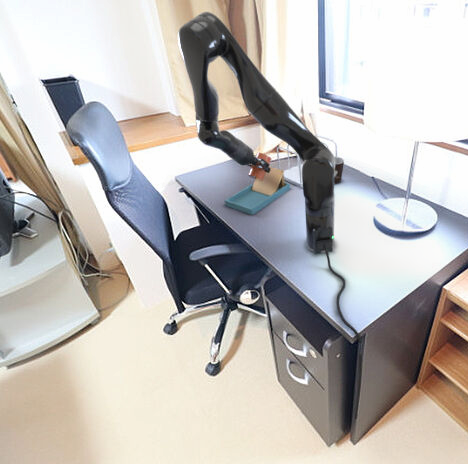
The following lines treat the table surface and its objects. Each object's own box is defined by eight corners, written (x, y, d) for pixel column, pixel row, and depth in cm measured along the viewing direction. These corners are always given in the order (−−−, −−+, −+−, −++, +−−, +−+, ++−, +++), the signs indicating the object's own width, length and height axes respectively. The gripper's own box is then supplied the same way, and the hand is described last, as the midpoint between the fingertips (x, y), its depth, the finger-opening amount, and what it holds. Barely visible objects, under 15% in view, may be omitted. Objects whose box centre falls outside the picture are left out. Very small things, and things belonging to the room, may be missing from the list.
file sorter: (315, 161, 168) (314, 132, 159) (339, 171, 157) (340, 140, 148) (277, 176, 154) (274, 145, 145) (300, 188, 144) (299, 155, 135)
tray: (252, 215, 126) (251, 209, 124) (225, 205, 132) (224, 200, 130) (290, 188, 143) (289, 183, 142) (265, 181, 150) (264, 176, 148)
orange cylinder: (258, 186, 130) (254, 159, 123) (246, 183, 133) (242, 156, 126) (275, 176, 138) (273, 150, 131) (264, 173, 141) (261, 147, 134)
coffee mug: (346, 179, 150) (347, 159, 144) (337, 186, 144) (338, 165, 138) (325, 173, 155) (325, 154, 149) (316, 180, 149) (315, 160, 143)
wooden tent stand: (272, 198, 136) (270, 177, 131) (251, 191, 141) (248, 171, 136) (285, 189, 143) (284, 169, 137) (265, 183, 148) (262, 164, 142)
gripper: (221, 157, 122) (246, 174, 137) (249, 164, 116) (273, 181, 131) (228, 139, 123) (253, 158, 138) (257, 145, 116) (279, 164, 131)
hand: (262, 169), depth 134 cm, fingers closed on orange cylinder, 6 cm apart
